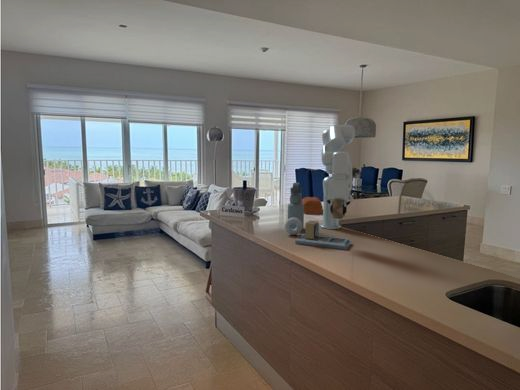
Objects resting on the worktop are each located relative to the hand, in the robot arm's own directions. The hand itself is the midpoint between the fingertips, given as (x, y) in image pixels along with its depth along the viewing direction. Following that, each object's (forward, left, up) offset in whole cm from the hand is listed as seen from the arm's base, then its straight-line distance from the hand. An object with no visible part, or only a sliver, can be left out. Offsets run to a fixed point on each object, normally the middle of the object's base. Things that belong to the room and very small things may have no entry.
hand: (338, 213), depth 174 cm
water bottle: (-26, -31, -17) cm, 44 cm away
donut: (-11, -27, -17) cm, 34 cm away
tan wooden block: (0, 0, -2) cm, 2 cm away
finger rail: (0, -7, -16) cm, 18 cm away
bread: (-92, -40, -17) cm, 102 cm away
